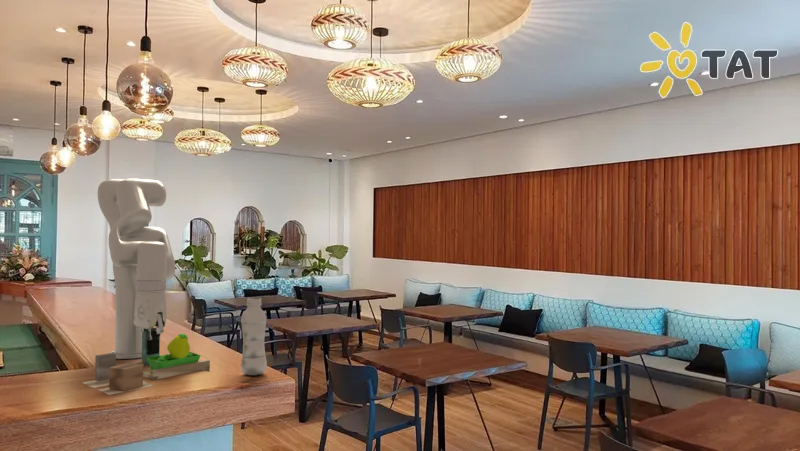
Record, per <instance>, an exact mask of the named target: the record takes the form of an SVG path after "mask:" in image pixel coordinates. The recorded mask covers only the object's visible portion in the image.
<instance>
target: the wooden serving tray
mask: <svg viewBox="0 0 800 451" xmlns="http://www.w3.org/2000/svg"><path fill="white" fill-rule="evenodd" d="M155 331H156V330H155ZM152 333H153V331H152ZM147 340H149V330H145V331H142V357H141V361H140V362H134V364H141V365H143V366H149V362H148V361H147V358H149V357H155V356H160V353H161V352H160V345H161V344H160V342H161V341H160V340H161V338H160V339H159V353H158V354H152V355H148V354H147ZM210 368H211V361H210V359H204V360H198V362H193V363H188V364H182V365H177V366H172V367H167V368H161V369H156V370H151V369H150V372H148V371H146V370H143V378H146V379H150V380H152V381H155V380H160V379H164V378H170V377H175V376H179V375H185V374H188V373H190V374H191V373H194V372H200V371H204V372H211V371H210Z"/></svg>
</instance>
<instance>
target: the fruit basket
mask: <svg viewBox="0 0 800 451" xmlns="http://www.w3.org/2000/svg"><path fill="white" fill-rule="evenodd" d="M166 349H167V351H168V352H169V354H168V353H166V354H163V355H159V356H155V357H149V358H147V361H148V362H149V365H148V366H149V369H150V371H151V370H156V369H161V368H167V367H172V366H177V365H182V364H188V363H193V362H198V361H200V359H201V354H197V353H196V352H195V353H194V352H193V351H190V350H191V344H190V342H189V337H188V335H187V334H185V333H179V334H178V335H176V336H175V337H174V338H173V339H172V340H170V342H169V343H168V344H167V347H166Z"/></svg>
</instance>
